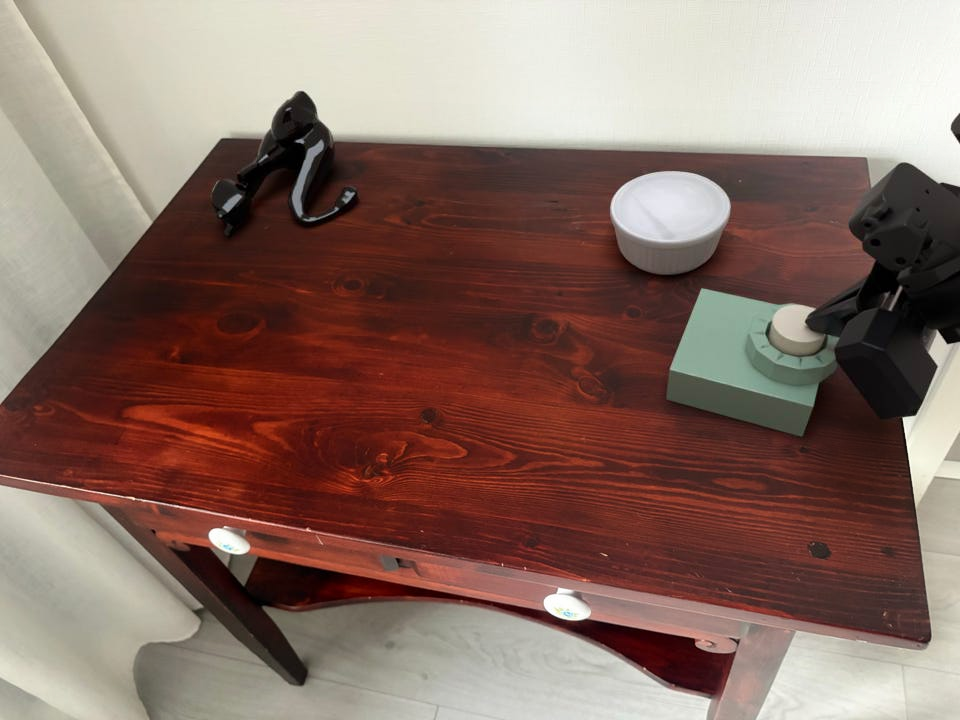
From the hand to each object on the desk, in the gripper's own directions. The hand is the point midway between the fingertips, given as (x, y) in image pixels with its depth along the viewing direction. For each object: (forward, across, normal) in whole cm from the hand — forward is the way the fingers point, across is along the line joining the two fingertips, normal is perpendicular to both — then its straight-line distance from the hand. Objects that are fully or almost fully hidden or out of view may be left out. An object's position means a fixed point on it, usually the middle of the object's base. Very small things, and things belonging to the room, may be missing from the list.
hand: (809, 323), depth 57 cm
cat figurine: (+46, +1, -35) cm, 58 cm away
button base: (+8, 0, +3) cm, 8 cm away
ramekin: (+18, -11, -6) cm, 22 cm away
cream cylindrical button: (+2, 0, +2) cm, 3 cm away
